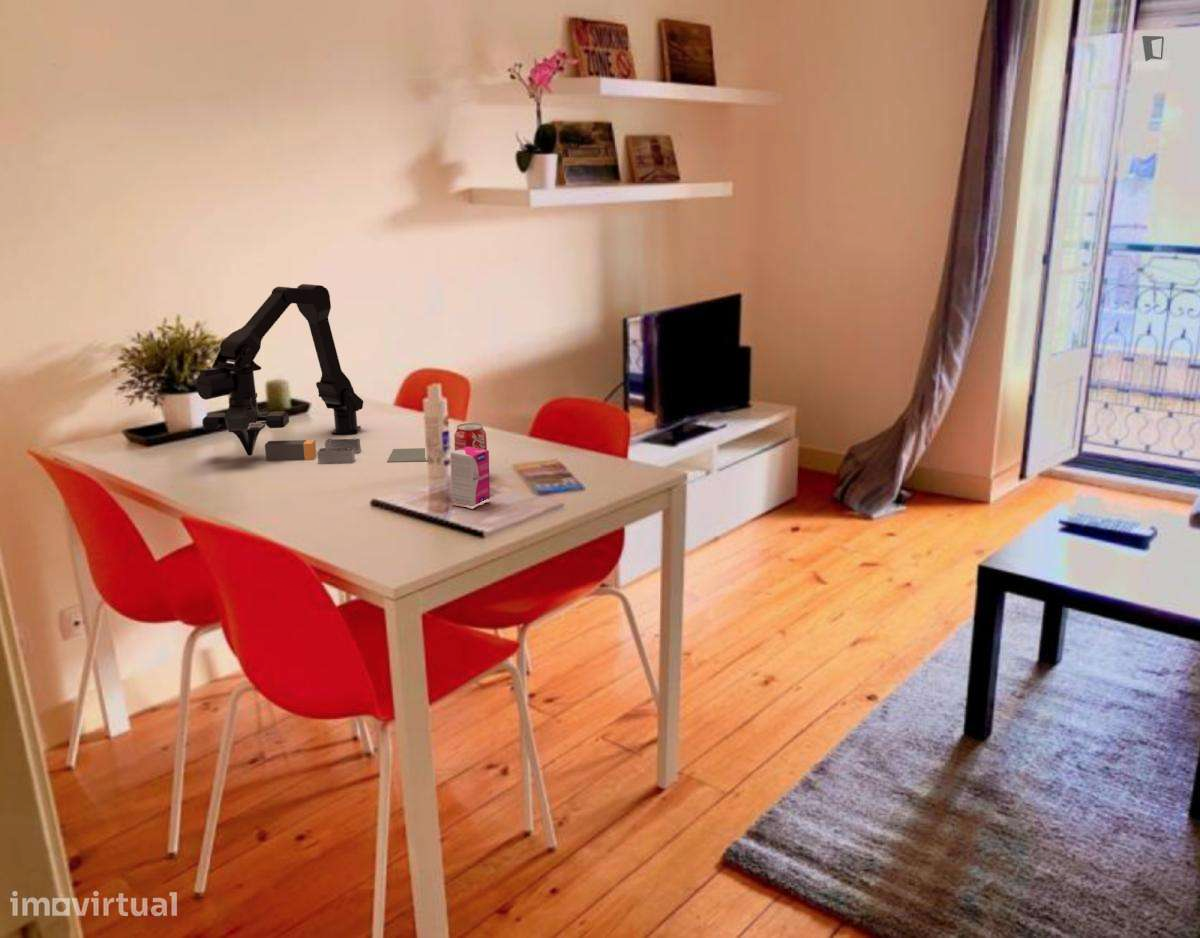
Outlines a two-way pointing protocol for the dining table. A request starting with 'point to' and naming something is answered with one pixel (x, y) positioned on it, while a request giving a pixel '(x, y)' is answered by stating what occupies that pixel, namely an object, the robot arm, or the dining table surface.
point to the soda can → (470, 436)
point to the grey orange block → (290, 450)
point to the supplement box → (470, 476)
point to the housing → (339, 451)
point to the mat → (407, 455)
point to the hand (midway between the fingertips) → (250, 455)
